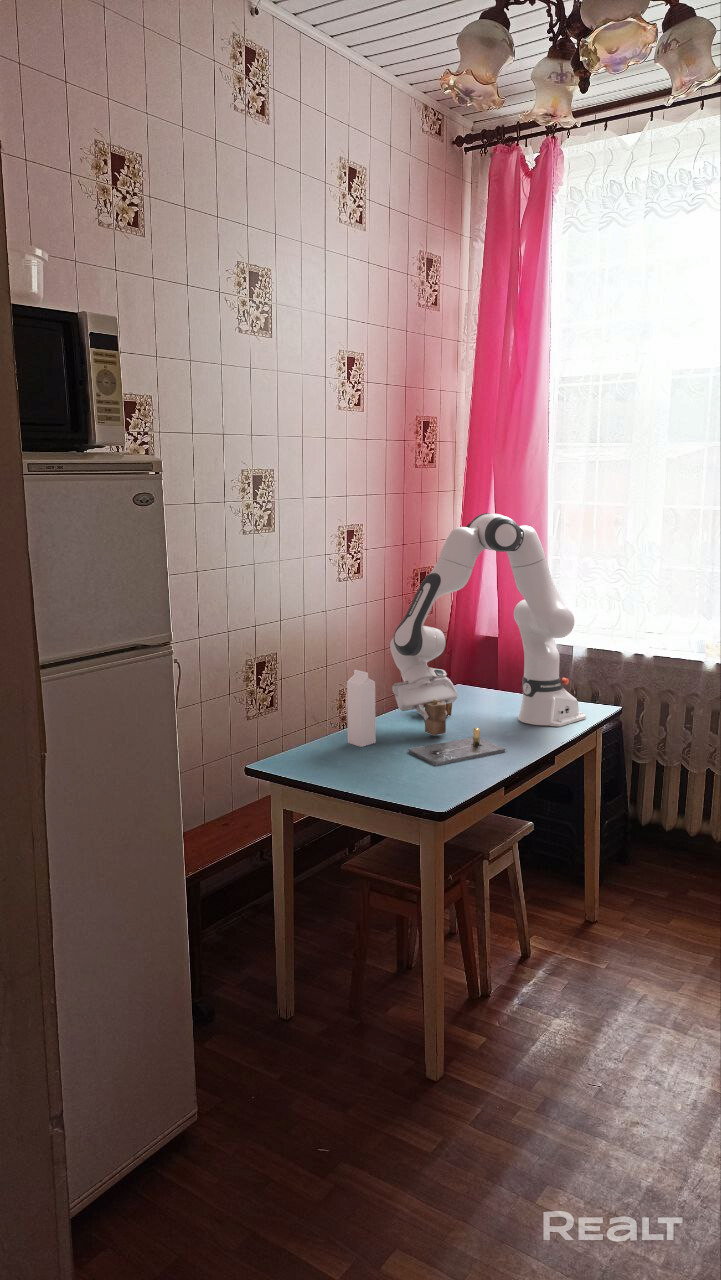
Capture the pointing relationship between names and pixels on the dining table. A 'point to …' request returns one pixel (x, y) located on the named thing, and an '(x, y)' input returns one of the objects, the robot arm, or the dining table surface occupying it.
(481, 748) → the bolt plate
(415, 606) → the robot arm
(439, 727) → the walnut peg
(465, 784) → the dining table surface
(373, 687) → the milk
